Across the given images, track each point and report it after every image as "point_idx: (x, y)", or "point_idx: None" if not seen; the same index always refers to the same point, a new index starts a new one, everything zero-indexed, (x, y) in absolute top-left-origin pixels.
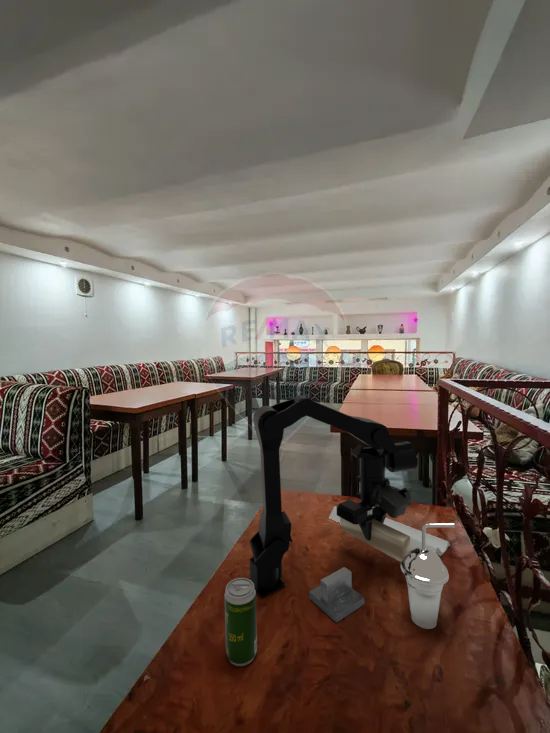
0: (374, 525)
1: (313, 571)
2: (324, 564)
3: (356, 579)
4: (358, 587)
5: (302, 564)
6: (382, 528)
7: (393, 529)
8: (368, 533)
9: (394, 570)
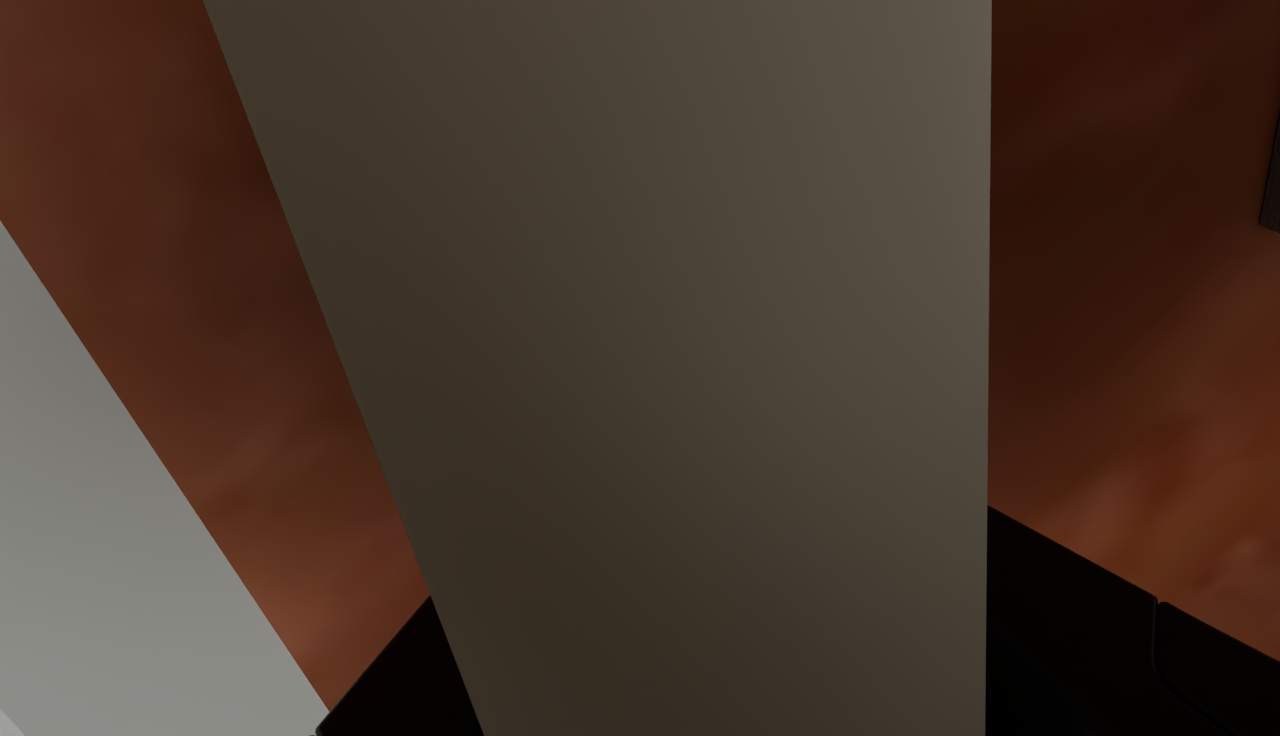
0: (900, 695)
1: (1274, 482)
2: (1092, 524)
3: (1016, 163)
4: (1122, 23)
5: (1262, 604)
6: (815, 402)
7: (339, 53)
8: (1033, 538)
9: None
